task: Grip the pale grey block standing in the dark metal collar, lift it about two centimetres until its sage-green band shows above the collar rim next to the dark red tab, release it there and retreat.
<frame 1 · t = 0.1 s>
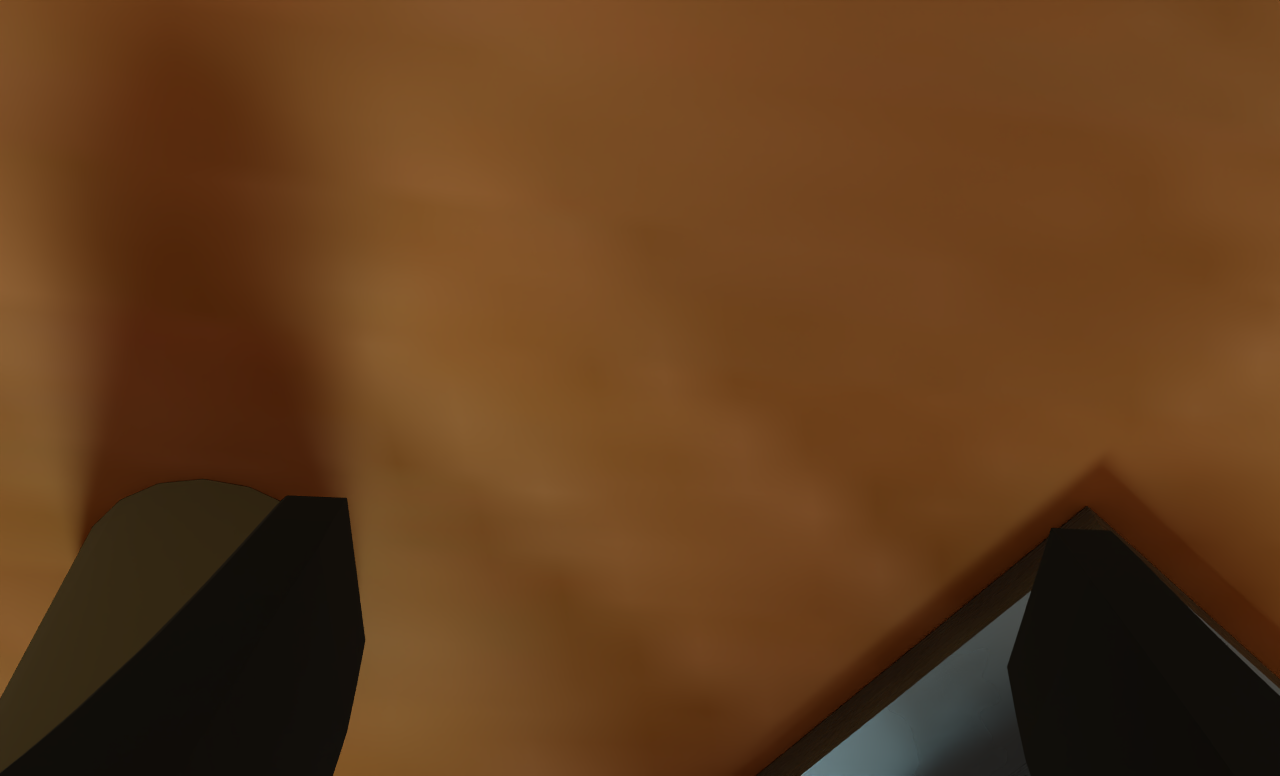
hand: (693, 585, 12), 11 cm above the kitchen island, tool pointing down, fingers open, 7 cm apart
green pawn: (222, 596, 25), on the kitchen island
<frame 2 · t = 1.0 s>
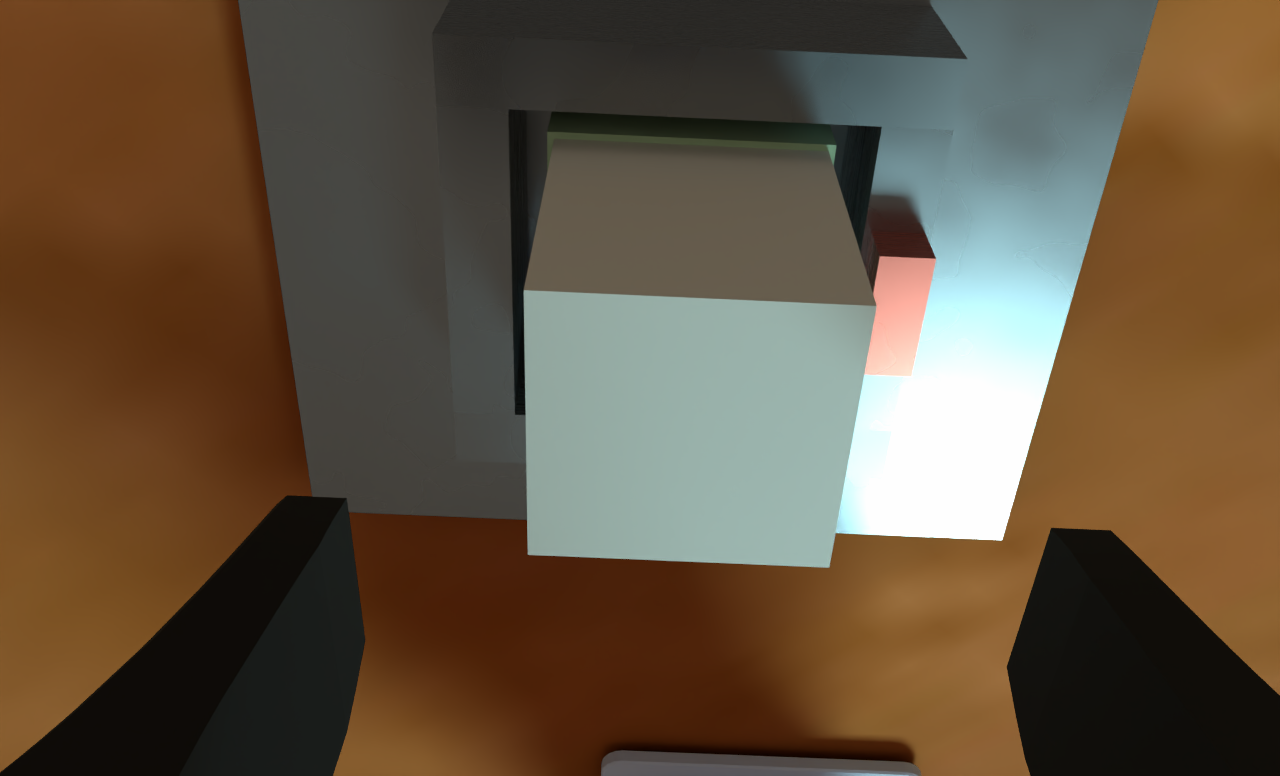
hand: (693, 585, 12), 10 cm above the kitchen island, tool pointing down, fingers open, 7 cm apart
pale grey block: (684, 307, 17), point 4 cm above the kitchen island, slide at 0.0 cm
stand base: (680, 186, 20), on the kitchen island
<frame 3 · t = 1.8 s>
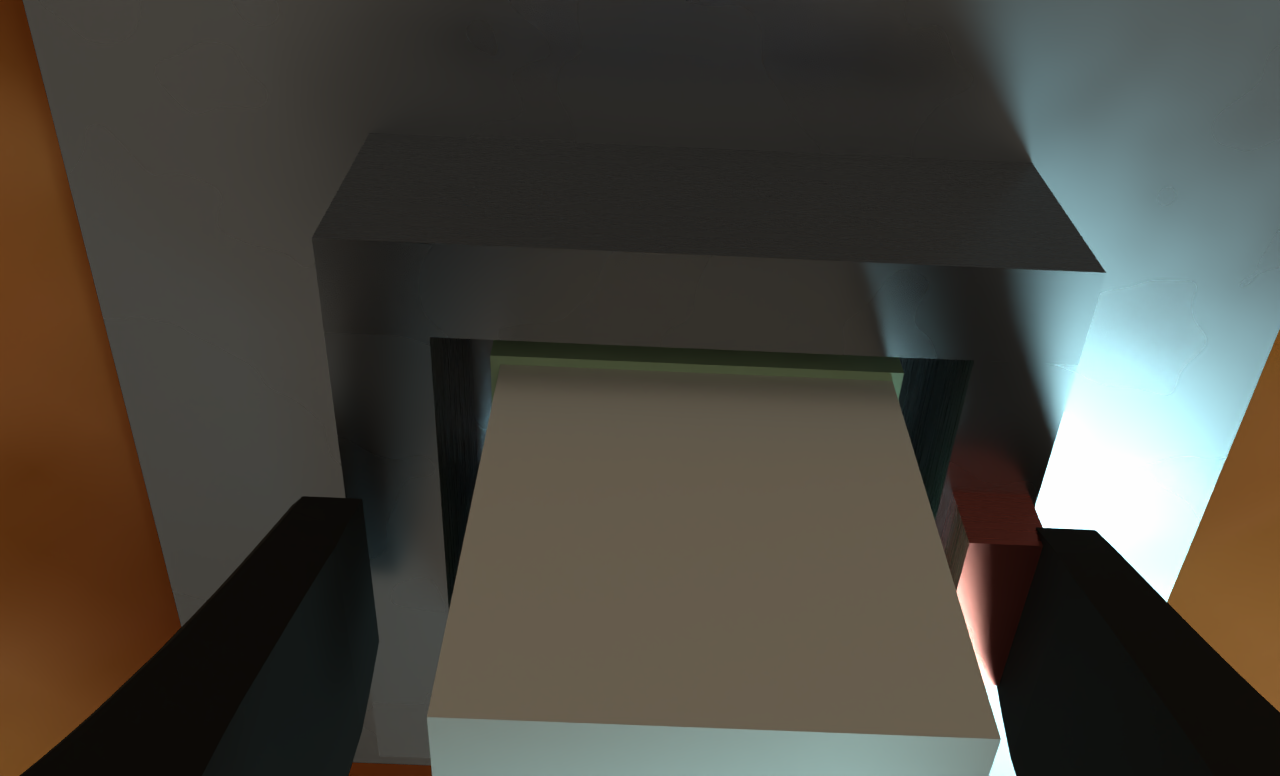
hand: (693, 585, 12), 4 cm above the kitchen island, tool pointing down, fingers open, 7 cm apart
pale grey block: (686, 602, 12), point 4 cm above the kitchen island, slide at 0.0 cm
stand base: (680, 374, 15), on the kitchen island
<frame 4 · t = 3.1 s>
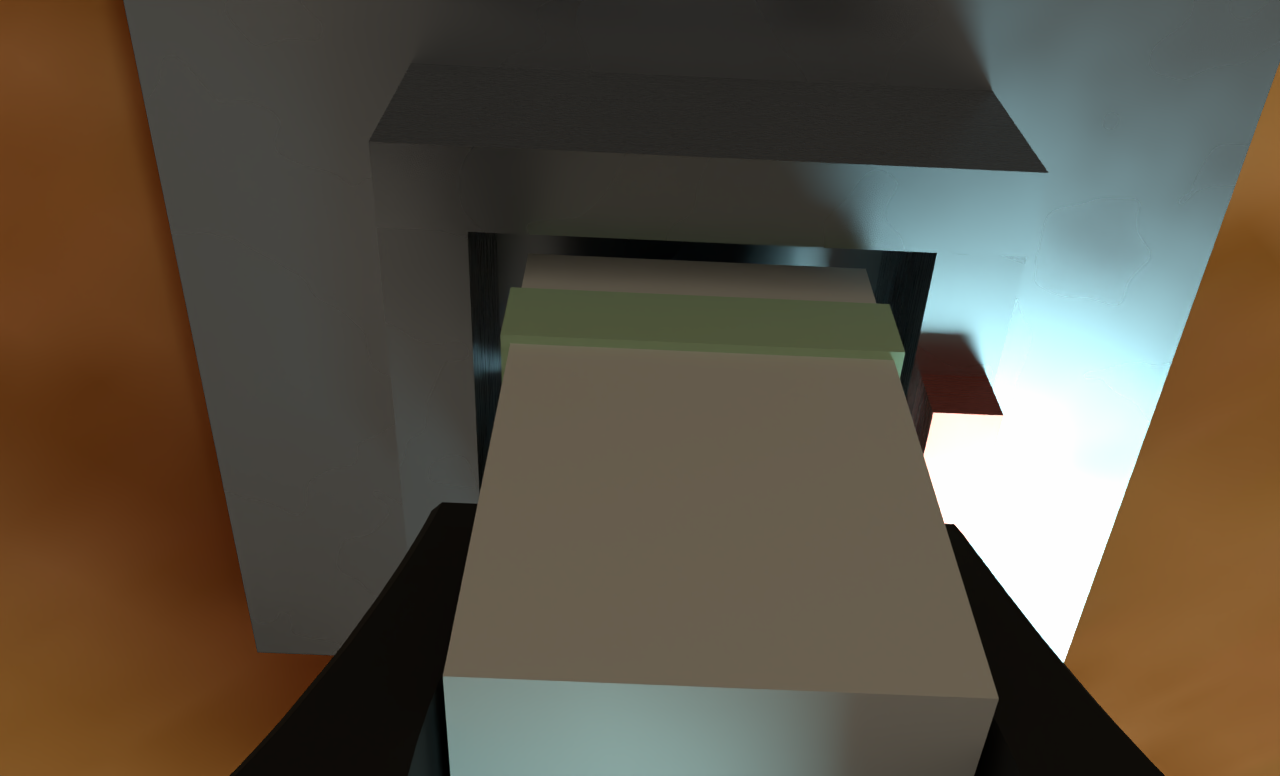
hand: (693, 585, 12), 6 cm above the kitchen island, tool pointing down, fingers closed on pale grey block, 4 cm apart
pale grey block: (692, 576, 12), point 6 cm above the kitchen island, slide at 1.8 cm, touching gripper
stand base: (682, 291, 17), on the kitchen island
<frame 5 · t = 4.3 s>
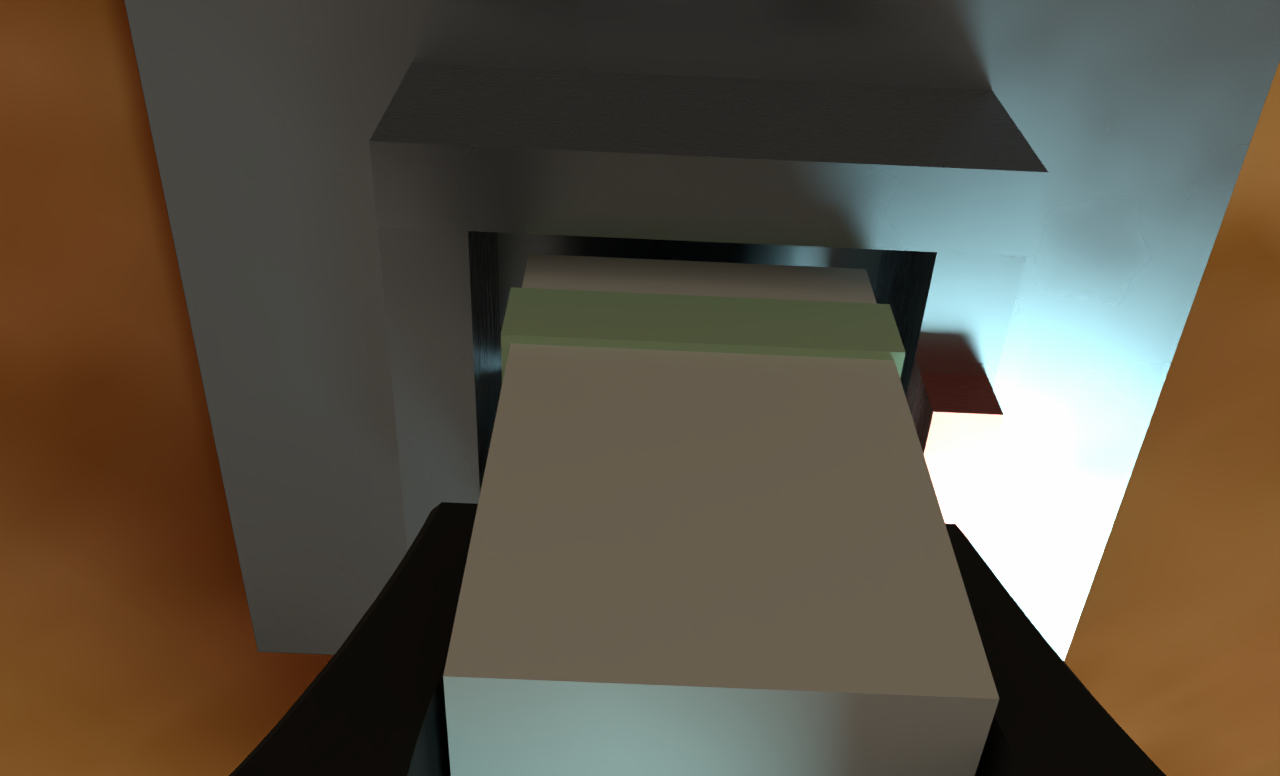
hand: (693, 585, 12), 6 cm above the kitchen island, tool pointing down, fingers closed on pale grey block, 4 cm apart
pale grey block: (692, 576, 12), point 6 cm above the kitchen island, slide at 1.8 cm, touching gripper
stand base: (682, 291, 17), on the kitchen island
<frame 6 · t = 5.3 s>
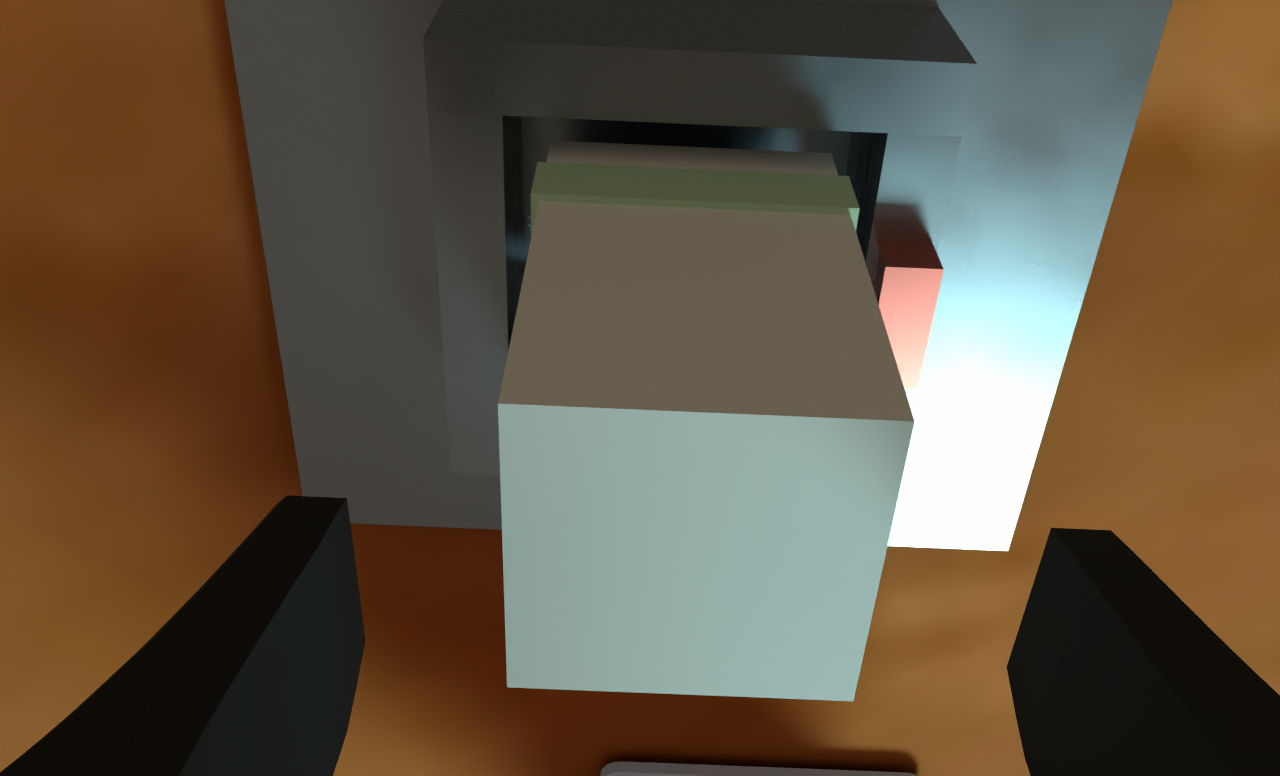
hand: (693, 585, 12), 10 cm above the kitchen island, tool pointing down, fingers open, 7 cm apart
pale grey block: (686, 391, 15), point 6 cm above the kitchen island, slide at 1.8 cm
stand base: (679, 191, 20), on the kitchen island
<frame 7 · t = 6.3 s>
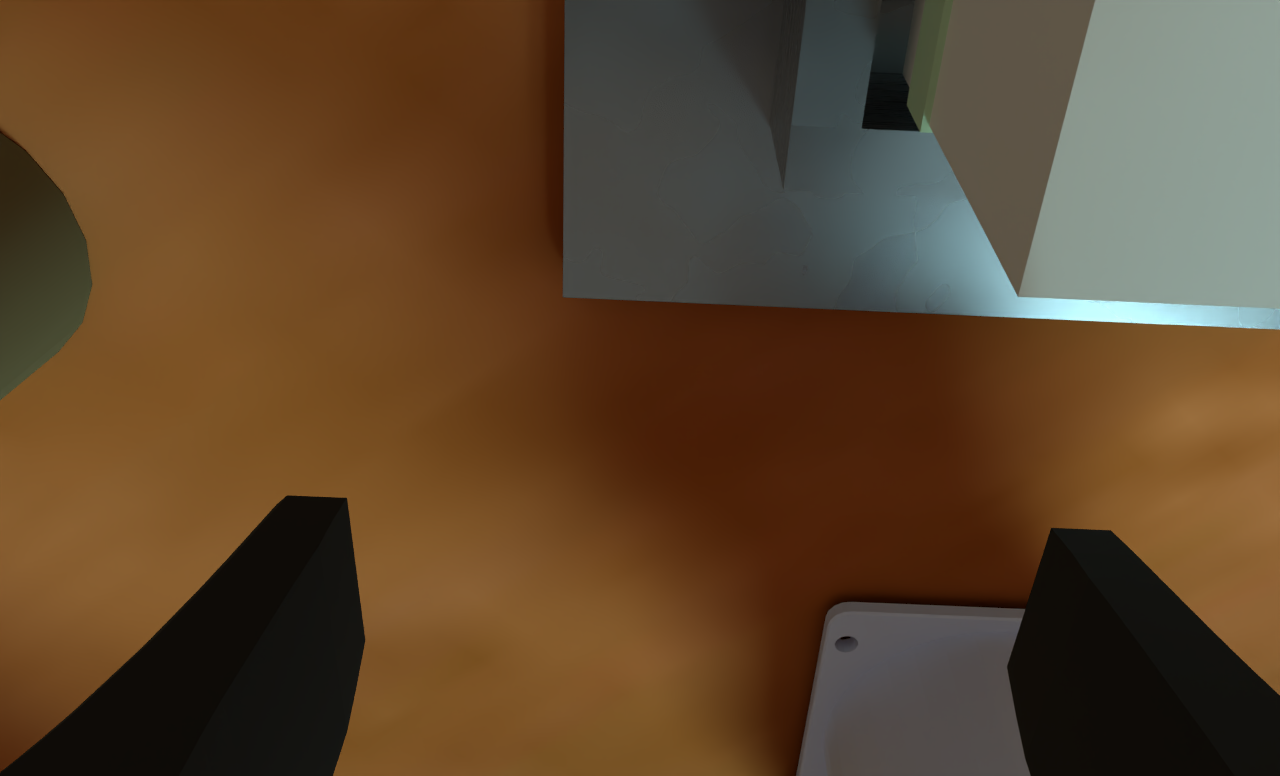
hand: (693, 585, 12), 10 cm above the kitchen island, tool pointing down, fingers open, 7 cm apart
pale grey block: (1162, 4, 13), point 6 cm above the kitchen island, slide at 1.8 cm
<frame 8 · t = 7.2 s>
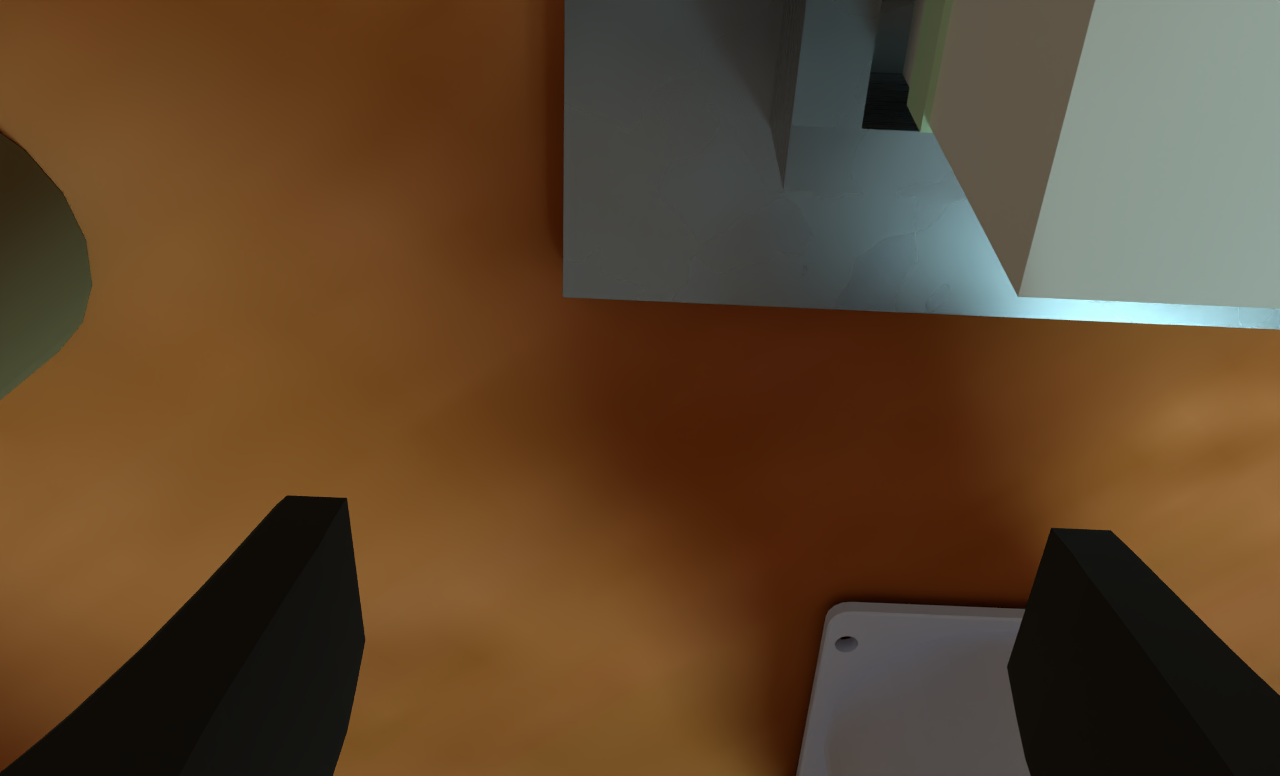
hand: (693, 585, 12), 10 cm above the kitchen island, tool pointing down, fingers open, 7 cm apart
pale grey block: (1162, 4, 13), point 6 cm above the kitchen island, slide at 1.8 cm
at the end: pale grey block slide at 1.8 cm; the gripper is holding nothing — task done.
